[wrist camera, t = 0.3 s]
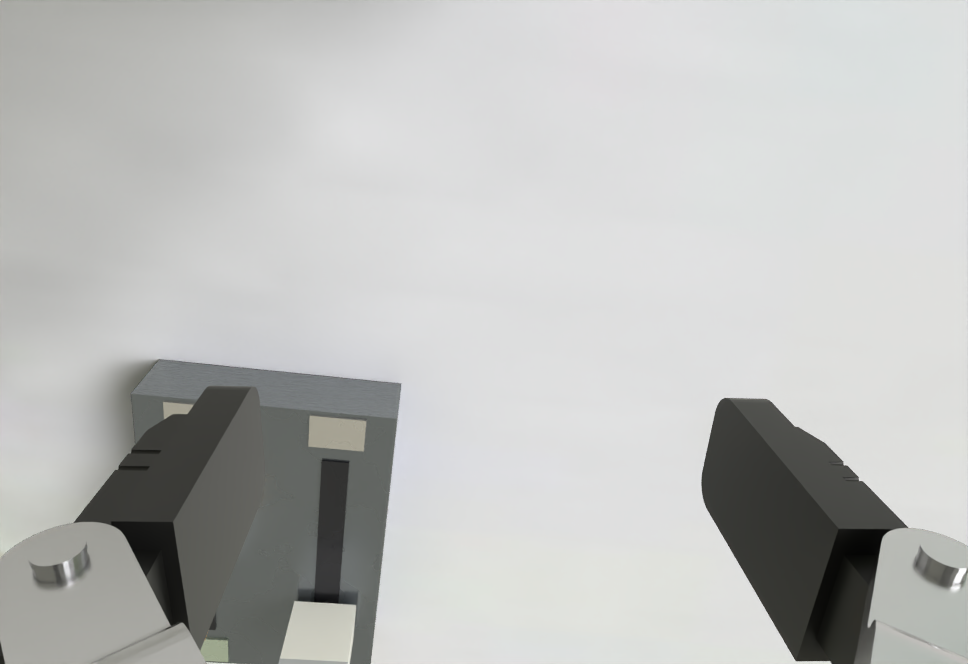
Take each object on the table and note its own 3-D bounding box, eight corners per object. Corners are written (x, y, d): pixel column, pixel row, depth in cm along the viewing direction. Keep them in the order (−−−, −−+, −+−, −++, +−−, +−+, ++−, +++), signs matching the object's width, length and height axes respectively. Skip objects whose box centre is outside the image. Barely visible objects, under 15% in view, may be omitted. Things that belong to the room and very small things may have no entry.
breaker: (294, 601, 32) (276, 670, 29) (356, 604, 33) (346, 673, 29) (293, 635, 33) (276, 706, 30) (353, 638, 34) (343, 709, 30)
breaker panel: (159, 359, 30) (129, 394, 27) (401, 383, 31) (397, 420, 28) (176, 612, 37) (154, 660, 34) (374, 623, 38) (369, 671, 35)
